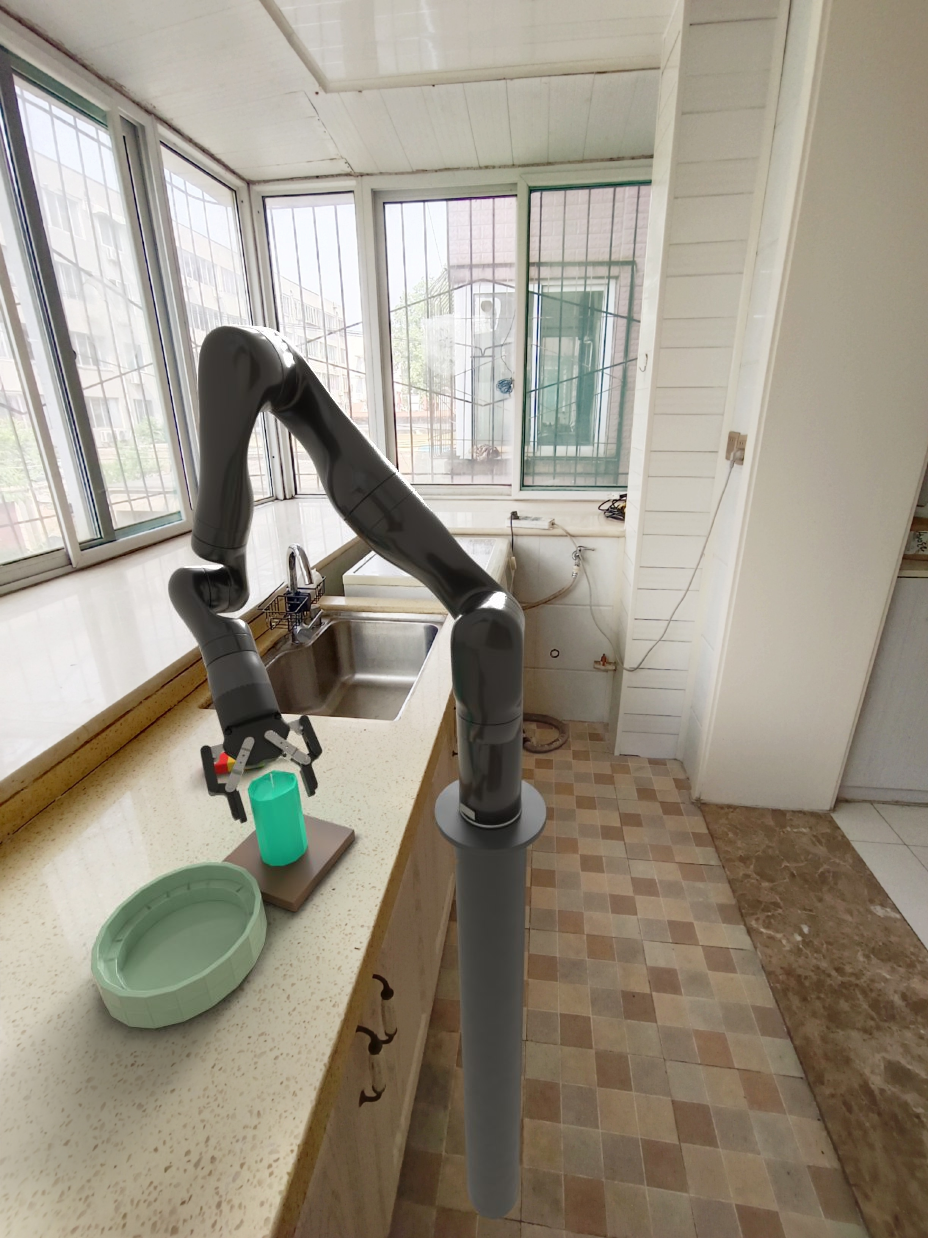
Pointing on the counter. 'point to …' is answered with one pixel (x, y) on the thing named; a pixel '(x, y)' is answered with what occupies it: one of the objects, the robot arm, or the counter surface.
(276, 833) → the candle
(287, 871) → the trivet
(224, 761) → the popsicle
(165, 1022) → the bowl
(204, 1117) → the counter surface
